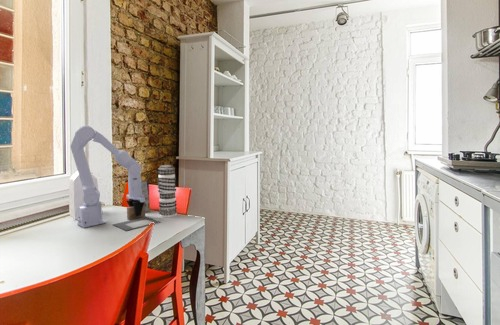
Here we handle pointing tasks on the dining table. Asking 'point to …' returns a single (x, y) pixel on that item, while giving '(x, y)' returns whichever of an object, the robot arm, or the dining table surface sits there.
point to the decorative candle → (167, 191)
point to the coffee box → (145, 194)
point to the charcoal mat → (135, 223)
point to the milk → (77, 193)
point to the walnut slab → (132, 215)
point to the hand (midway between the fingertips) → (136, 214)
